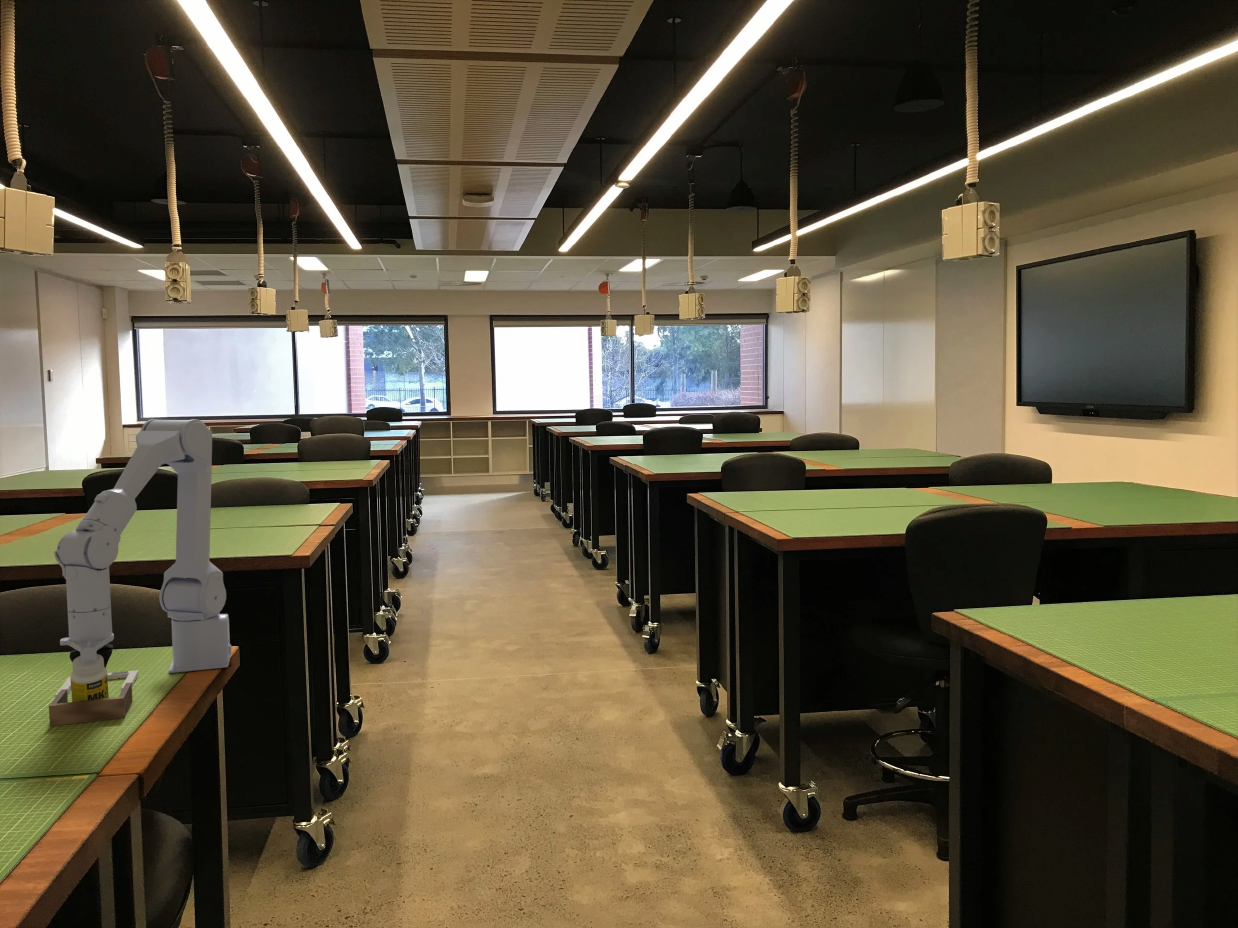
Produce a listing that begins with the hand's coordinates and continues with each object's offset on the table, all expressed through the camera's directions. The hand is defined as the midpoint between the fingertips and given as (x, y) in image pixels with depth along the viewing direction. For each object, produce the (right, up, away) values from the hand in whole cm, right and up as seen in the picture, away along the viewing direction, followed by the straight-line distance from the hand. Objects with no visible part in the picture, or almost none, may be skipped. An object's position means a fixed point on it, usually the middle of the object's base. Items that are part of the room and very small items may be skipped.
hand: (93, 694), depth 137 cm
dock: (-5, -1, +9) cm, 10 cm away
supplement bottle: (+1, -2, -2) cm, 3 cm away
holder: (+1, -2, -2) cm, 3 cm away
